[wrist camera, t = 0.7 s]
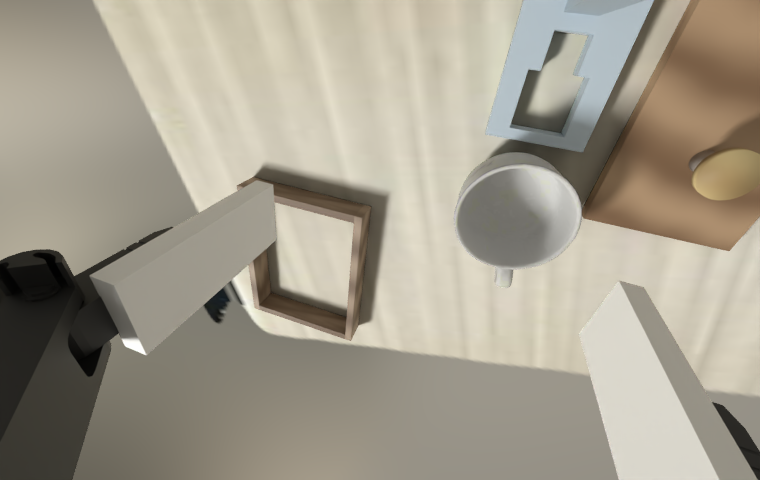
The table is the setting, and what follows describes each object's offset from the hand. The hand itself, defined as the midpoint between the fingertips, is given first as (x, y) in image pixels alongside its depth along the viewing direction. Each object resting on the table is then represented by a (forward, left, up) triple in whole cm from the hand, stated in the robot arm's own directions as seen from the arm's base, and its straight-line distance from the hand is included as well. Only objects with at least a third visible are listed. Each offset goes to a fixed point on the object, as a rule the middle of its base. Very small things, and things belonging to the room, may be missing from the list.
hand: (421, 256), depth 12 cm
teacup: (+8, +6, -26) cm, 28 cm away
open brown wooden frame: (+24, -19, -26) cm, 40 cm away
